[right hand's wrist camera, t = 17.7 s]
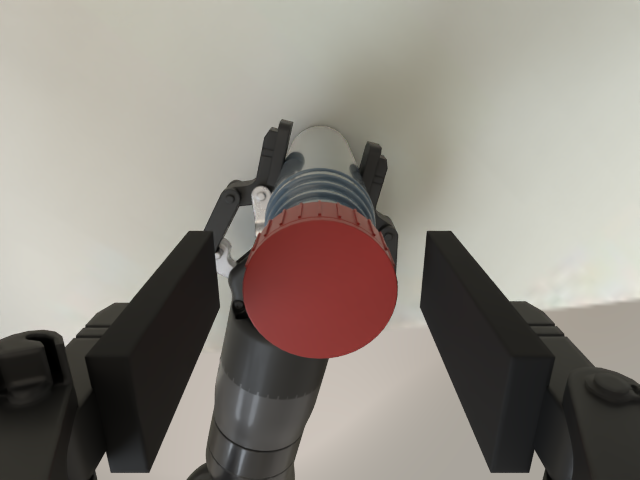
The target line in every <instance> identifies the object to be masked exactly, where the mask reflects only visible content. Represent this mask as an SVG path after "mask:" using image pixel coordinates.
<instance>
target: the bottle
mask: <svg viewBox="0 0 640 480" xmlns="http://www.w3.org/2000/svg"><path fill="white" fill-rule="evenodd" d="M318 200H321V202H331V203H336V204H337V202H338V203H340V205H343V206H346V207H349V208H351V209H353V210H354V209H356V210H357V212H358V213H360V214H361V215H363V216H364V217H366V218H367V219H370V220H371V222H372V224H373V225H374V227H375V228H376V222H375V212H374V207H373V204H372V201H371V199H370V196H369V194H368V191H367V189H366V186H365V184H364V181H363V179H362V176H361V174H360V171H359V169H358V166H357V164H356V162H355V159H354V157H353V154H352V152H351V149H350V147H349V144H348V142H347V141H346V139H345V138H344V137H343V135H342V134H340V133H339V132H338V131H336V130H335V129H333V128H330V127H327V126H313V127H310V128H307V129H305V130H303V131H302V132H301V133H299V134H298V135H297V136H296V138H295V139H294V140H293V142H292V144H291V147H290V149H289V151H288V154H287V156H286V159H285V161H284V164H283V166H282V169H281V171H280V174H279V176H278V179H277V181H276V184H275V186H274V189H273V191H272V194H271V196H270V199H269V201H268V204H267V207H266V212H265V222H264V228H265V226H266V225H267V224H268V221H269V220H270V219H271V220H272V219H274V218H275V217H276V216H277V215H279V214H280V213H282V211H283V210H284V209H286V210H287V209H289V208H292V207H294V206H297V205H300V203H303V204H304V203H310V202H318Z"/></svg>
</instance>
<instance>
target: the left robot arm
mask: <svg viewBox="0 0 640 480" xmlns="http://www.w3.org/2000/svg"><path fill="white" fill-rule="evenodd" d="M292 126H293V122H291V121H287V120H283V119H282V120H281V121H280V124H279V127H278V129H277V128H273V127H272V128H271V129H270V130H269V131H268V133H267V134H266V136H265V137H264V142H263V147H262V152H261V157H260V162H259V167H258V172H257V177H256V178H255V179H253V180H250V181H240V180H234V181H232V182H230V184H229V185H228V186H227V188H226V189H225V190H224V191H223V192H222V193H221V195H220V197H219V199H218V202H217V204H216V206H215V208H214V210H213V212H212V214H211V216H210V218H209V220H208V223H207V225H206V227H205V229H204V231H213V236H214V247H215V258H216V269H217V273H218V274H220V275H222V276H225V277H227V278H228V283H229V286H230V288H231V291H232V303H231V308H230V313H229V318H228V323H227V328H226V333H225V338H224V343H223V348H222V353H221V357H220V364H219V369H218V373H217V379H216V385H215V405H214V411H213V416H212V421H211V426H210V431H209V436H208V442H207V448H206V463H205V464H203V465H201V466H200V467H199V468H197V469H196V470H195V471H194V472H193V473H192V474H191V475H190V476H189V477H188V479H187V480H295V472H294V460H295V457H296V454H297V450H298V447H299V444H300V440H301V437H302V434H303V430H304V427H305V425H306V423H307V421H308V419H309V417H310V415H311V413H312V410H313V408H314V405H315V402H316V399H317V396H318V392H319V389H320V386H321V383H322V379H323V376H324V373H325V369H326V366H327V362H328V359H329V358H321V359H317V358H307V357H301V356H297V355H294V354H291V353H288V352H286V351H284V350H282V349H280V348H278V347H277V346H275V345H273V344H272V343H271V342H269V341H268V340H267V339H266V338H265V337H264V336H262V335H261V334H260V333H259V331H258V330H257V329H256V327H255V326H254V325H253V323H252V321H251V320H250V318H249V316H248V313H247V311H246V308H245V304H244V300H243V279H244V273H245V270H246V267H245V264H246V262H247V259H248V257H249V254H250V251H251V250H249V251H248V252H247V253H246V254H245V255H243V256H242V257H241V258H240V259H238V260H237V261H234V260H233V259H232V257H231V255H230V251H231V243H230V242H229V241H228V240H227V239H225V238H224V236H225V234H226V232H227V230H228V228H229V226H230V224H231V222H232V220H233V218H234V216H235V214H236V212H237V210H238V208H239V206H246V205H253V211H254V217H255V234H256V238H257V235H258V233H259V232H260V233H261V232H262V231H263V229H264V222H265V212H266V207H267V204H268V201H269V199H270V196H271V194H272V191H273V189H274V186H275V184H276V181H277V179H278V176H279V174H280V171H281V169H282V166H283V164H284V161H285V158H286V154H287V149H288V144H289V140H290V135H291V131H292ZM359 171H360V174H361V176H362V179H363V181H364V184H365V186H366V189H367V191H368V194H369V196H370V199H371V201H372V204H373V207H374V212H375V222H376V229H377V230H378V232H381V233H382V235H383V238H384V240H385V243H386V246H387V247H388V248H389V251H390V254H391V256H392V259H393V261H394V264H395V267H394V270H395V273H396V264H397V245H398V233H397V231H396V229H395V227H394V225H393V223H392V221H391V219H390V218H389V217H388V216H384V215H382V214H381V213H379V212H378V211H377V210H376V204H377V201H378V198H379V195H380V191H381V188H382V184H383V182H384V178H385V175H386V172H387V159H386V158H385V157H384V155H381V146H380V145H379V144H376V143H372V142H367V144H366V146H365V150H364V153H363V157H362V160H361V164H360V167H359Z"/></svg>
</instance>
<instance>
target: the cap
mask: <svg viewBox="0 0 640 480" xmlns="http://www.w3.org/2000/svg"><path fill="white" fill-rule="evenodd" d="M245 267H246V270H245V273H244V279H243V300H244V304H245V308H246V311H247V313H248V316H249V318H250V320H251V321H252V323H253V325H254V326H255V327H256V329H257V330H258V331H259V333H260V334H261V335H262V336H264V337H265V338H266V339H267V340H268V341H269V342H271V343H272V344H273V345H275V346H277V347H278V348H280V349H282V350H284V351H286V352H288V353H291V354H294V355H297V356H301V357H307V358H317V359H321V358H333V357H339V356H343V355H346V354H349V353H351V352H354V351H356V350H358V349H360V348H362V347H364V346H365V345H367V344H368V343H370V342H371V341H372V340H373V339H374V338H376V337H377V336H378V335H379V334H380V332H381V331H382V330H383V329H384V328H385V326H386V325H387V323H388V322H389V320H390V318H391V316H392V314H393V311H394V308H395V305H396V300H397V291H398V285H397V284H398V281H397V277H396V273H395V270H394V267H395V264H394V261H393V259H392V256H391V254H390V251H389V248H388V247H387V246H386V243H385V240H384V238H383V235H382V233H381V232H378V230H377V229H376V228H375V227H374V225H373V224H372V222H371V220H370V219H367V218H366V217H364V216H363V215H361V214H360V213H358V212H357V210H356V209H354V210H353V209H351V208H349V207H346V206H343V205H340V203H338V202H337V204H336V203H331V202H321V200H318V202H310V203H304V204H303V203H300V205H297V206H294V207H292V208H289V209H287V210H286V209H284V210H283V211H282V213H280V214H279V215H277V216H276V217H275V218H274V219H272V220H271V219H270V220H269V221H268V224H267V225H266V226H265V228H264V229H263V231H262V232H261V233H260V232H259V233H258V235H257V238H256V240H255V243H254V246H253V248H252V249H251V251H250V254H249V257H248V259H247V262H246V264H245Z"/></svg>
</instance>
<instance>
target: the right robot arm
mask: <svg viewBox="0 0 640 480" xmlns="http://www.w3.org/2000/svg"><path fill="white" fill-rule="evenodd" d="M219 308H220V301H219V290H218V280H217V269H216V258H215V247H214V236H213V231H189V232H188V233H187V234H186V235H185V236H184V238H183V239H182V240H181V241H180V242H179V244H178V245H177V246H176V247H175V248H174V250H173V251H172V252H171V253H170V255H169V256H168V257H167V258H166V259H165V261H164V262H163V263H162V264H161V265H160V267H159V268H158V269H157V270H156V271H155V273H154V274H153V275H152V276H151V277H150V279H149V280H148V281H147V282H146V283H145V285H144V286H143V287H142V288H141V289H140V291H139V292H138V293H137V294H136V295H135V297H134V298H133V299H132V300H131V302H130V303H114V304H112V305H110V306H108V307H107V308H105V309H103V310H102V311H100V312H98V313H97V314H96V315H95V316H94V317H93V318H92V319H91V320H90V321H89V322H88V323H87V324H86V327H85V328H83V329H82V330H81V331H80V332H79V333H78V334H77V335H76V338H73V339H72V341H71V342H70V343H69V344H68V345H67V346H66V347H65V346H64V342H63V338H62V336H61V335H59V334H58V333H57V332H54V331H48V330H35V331H27V332H22V333H18V334H14V335H11V336H8V337H6V338H3V339H1V340H0V480H97V476H96V472H95V469H96V467H97V466H98V464H99V462H100V460H101V459H102V457H103V455H104V453H105V452H106V454H107V458H108V462H109V467H110V471H111V473H149V472H150V470H151V467H152V465H153V463H154V460H155V458H156V456H157V453H158V451H159V449H160V446H161V444H162V441H163V439H164V437H165V435H166V432H167V430H168V427H169V425H170V423H171V421H172V418H173V416H174V414H175V411H176V409H177V406H178V404H179V402H180V399H181V397H182V395H183V392H184V390H185V388H186V385H187V383H188V381H189V378H190V376H191V374H192V371H193V369H194V367H195V364H196V362H197V360H198V357H199V355H200V353H201V350H202V348H203V346H204V343H205V341H206V339H207V336H208V334H209V332H210V329H211V327H212V325H213V322H214V320H215V318H216V315H217V313H218V311H219ZM420 308H421V311H422V313H423V315H424V318H425V320H426V322H427V325H428V327H429V329H430V332H431V334H432V336H433V339H434V341H435V343H436V346H437V348H438V350H439V353H440V355H441V357H442V360H443V362H444V364H445V367H446V369H447V371H448V374H449V376H450V378H451V381H452V383H453V385H454V388H455V390H456V392H457V395H458V397H459V399H460V402H461V404H462V406H463V409H464V411H465V413H466V416H467V418H468V420H469V423H470V425H471V428H472V430H473V432H474V435H475V437H476V439H477V442H478V444H479V446H480V448H481V451H482V453H483V455H484V458H485V460H486V463H487V465H488V467H489V470H490V472H491V473H529V471H530V467H531V462H532V458H533V453H534V449H535V451H536V453H537V455H538V456H539V458H540V460H541V462H542V463H543V465H544V467H545V472H544V476H543V480H640V384H638V383H637V382H635V381H634V380H633V379H630V378H628V377H626V376H624V375H622V374H620V373H617V372H614V371H611V370H607V369H603V368H597V367H595V366H594V365H593V364H592V363H591V362H590V361H589V360H588V359H587V358H586V357H585V356H584V355H583V353H582V352H581V351H580V350H579V349H578V348H577V347H576V346H575V345H574V344H573V343H572V342H571V341H570V340H569V339H568V337H565V336H564V333H563V332H562V331H561V330H560V329H559V328H558V327H557V326H555V324H554V323H553V321H552V320H551V319H550V318H549V317H548V316H547V315H546V314H545V313H544V312H543V311H541V310H540V309H538V308H536V307H534V306H533V305H531V304H529V303H527V302H526V301H509V300H508V299H507V298H506V297H505V295H504V294H503V293H502V292H501V291H500V289H499V288H498V287H497V286H496V285H495V283H494V282H493V281H492V280H491V279H490V277H489V276H488V275H487V274H486V273H485V271H484V270H483V269H482V268H481V267H480V265H479V264H478V263H477V262H476V261H475V259H474V258H473V257H472V256H471V255H470V253H469V252H468V251H467V250H466V248H465V247H464V246H463V245H462V244H461V242H460V241H459V240H458V239H457V238H456V236H455V235H454V234H453V233H452V232H451V231H427V236H426V247H425V258H424V269H423V280H422V290H421V301H420Z"/></svg>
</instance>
